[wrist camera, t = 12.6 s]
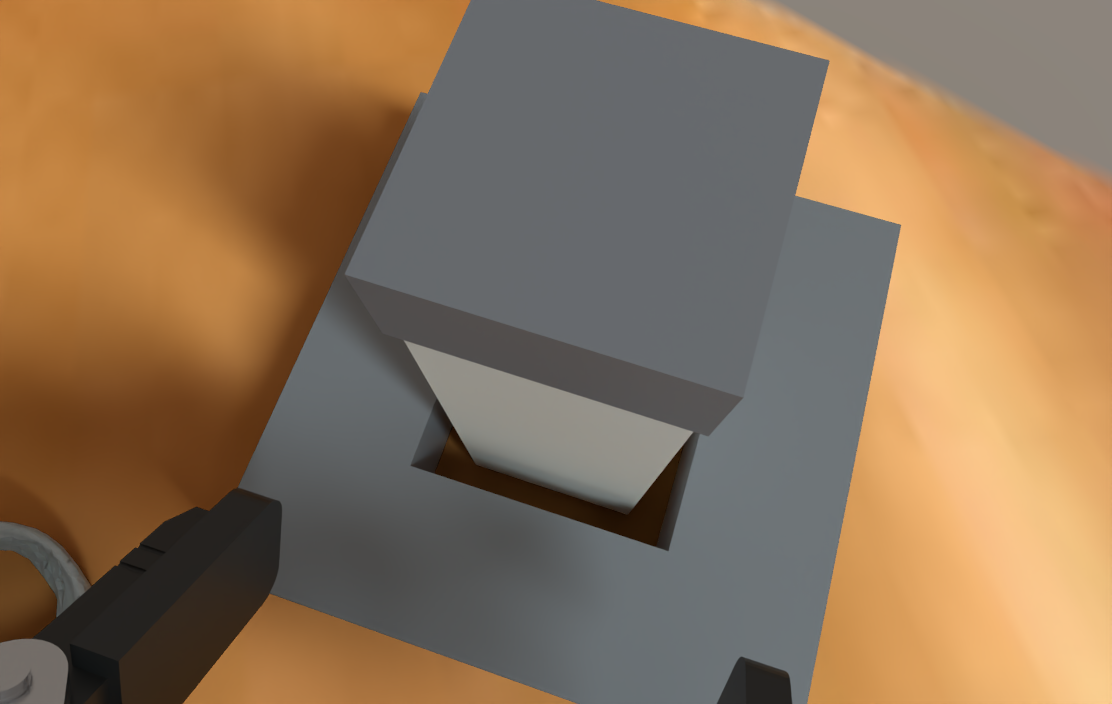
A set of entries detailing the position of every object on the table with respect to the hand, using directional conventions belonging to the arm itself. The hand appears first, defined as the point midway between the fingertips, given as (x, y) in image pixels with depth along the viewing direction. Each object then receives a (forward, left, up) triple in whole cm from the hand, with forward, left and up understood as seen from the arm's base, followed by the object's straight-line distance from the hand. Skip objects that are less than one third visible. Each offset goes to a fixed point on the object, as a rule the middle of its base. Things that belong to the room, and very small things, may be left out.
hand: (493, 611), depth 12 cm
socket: (0, +6, -8) cm, 10 cm away
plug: (0, +6, -8) cm, 10 cm away
